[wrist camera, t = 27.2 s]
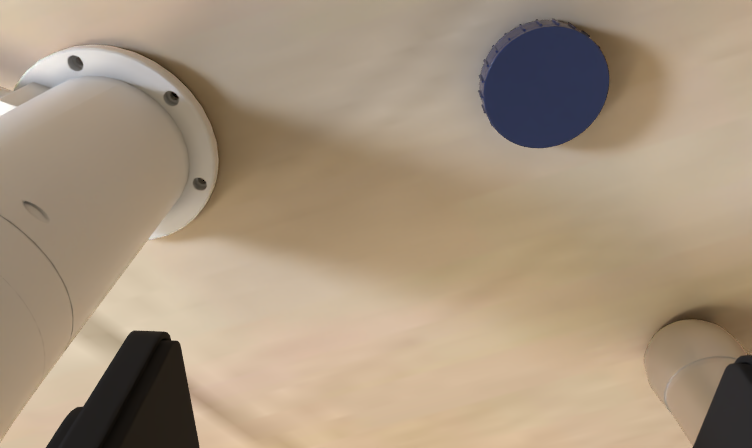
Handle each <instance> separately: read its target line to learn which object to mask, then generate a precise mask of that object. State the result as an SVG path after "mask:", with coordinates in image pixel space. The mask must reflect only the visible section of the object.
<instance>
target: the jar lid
mask: <svg viewBox="0 0 752 448" xmlns="http://www.w3.org/2000/svg"><path fill="white" fill-rule="evenodd" d="M589 37H590V36H589V35H588V34H587V33H585V32H584V31H580V30H578V29H577V28H576V27H575V26H573V25H572V24H571V23H569V22H568V24H567V23H564V22H561V21H556V20H555V19H552V20H538V19H536V21H533V22H529V23H526V24H523V25H521V24H520V25H519V27H517V28H515V29H513V30H511V31H510V32H508V33H507V34H506V33H505V35H504V36H503V37H502V38H501V39H500V40H499V41H498V42H497V43H496V44H495V45H493V46H492V47H493V48H492V49H491V51H490V52H489V54H488V56H487V58H486V60H485V59H484V64H483V67H482V71H481V75H479V78H480V83H479V85H480V90H478V92H479V95H480V97H481V100H482V108H483V110H484V113H486V114H487V116H488V118H489V121H490V123H491V125H492V126H493V127H494V128H495V129H496V130H497V132H498V133H499V134H501V135H502V136H503V137H504V138H506V139H507V140H509V141H511V142H513V143H515V144H517V145H520V146H524V147H529V148H548V147H553V146H557V145H560V144H563V143H565V142H567V141H570V140H572V139H573V138H575V137H577V136H578V135H579V134H581V133H582V132H583V131H585V130H586V129H587V128H588V127H589V126H590V125H591V124H592V123H593V121H594V120H595V119H596V117H597V116H598V114H599V113H600V111H601V109H602V107H603V105H604V103H605V100H606V97H607V94H608V89H609V70H608V65H607V62H606V59H605V57H604V55H603V53H602V51H601V50H600V47H599V46H598V45H597V44H596V43H595V42H594V41H593V40H592V39H590V38H589Z"/></svg>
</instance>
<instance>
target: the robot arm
mask: <svg viewBox="0 0 752 448" xmlns="http://www.w3.org/2000/svg"><path fill="white" fill-rule="evenodd" d="M79 58H80V59H81V60H82V62H83V63H82V62H81V61H80V60H79ZM172 92H174V93H176V94H177V96H178V97H179V98H176V97H174V96H173V93H172ZM218 165H219V158H218V149H217V142H216V139H215V135H214V132H213V129H212V126H211V123H210V122H209V120H208V118H207V116H206V114H205V112H204V110H203V108H202V106H201V105H200V104H199V102H198V101H197V100H196V98H195V97H194V96H193V94H192V93H191V92H190V90H189V89H188V88H187V87H186V86H185V85H184V84H183V83H182V82H181V81H179V80H178V79H177V78H176V77H175V76H174V75H173V74H172V73H170V72H169V71H167V70H166V69H165V68H163V67H162V66H160V65H159V64H157V63H156V62H154V61H152V60H150V59H148V58H146V57H144V56H142V55H140V54H137V53H135V52H132V51H129V50H125V49H122V48H118V47H115V46H106V45H95V44H91V45H81V46H73V47H70V48H67V49H64V50H61V51H58V52H55V53H53V54H51V55H49V56H47V57H45V58H43V59H41V60H39V61H38V62H37V63H35V64H34V65H33V66H32V67H31V68H29V69H28V70H27V71H26V72H25V73H24V74H23V76H22V77H21V79H20V80H19V81H18V83H17V84H16V86H15V88H14V91H11V90H8V89H6V88H3V87H0V442H1V441H2V439H3V438H4V436H5V434H6V433H7V431H8V430H9V428H10V427H11V425H12V424H13V422H14V421H15V419H16V418H17V416H18V415H19V414H20V412H21V411H22V409H23V408H24V406H25V405H26V404H27V402H28V401H29V399H30V398H31V397H32V395H33V394H34V392H35V391H36V390H37V388H38V387H39V385H40V384H41V383H42V381H43V380H44V379H45V377H46V376H47V375H48V373H49V372H50V371H51V369H52V368H53V367H54V365H55V364H56V362H57V361H58V360H59V358H60V357H61V356H62V354H63V353H64V351H65V350H66V349H67V347H68V346H69V345H70V343H71V342H72V341H73V339H74V338H75V337H76V335H77V334H78V333H79V331H80V330H81V329H82V327H83V326H84V325H85V323H86V322H87V321H88V319H89V318H90V317H91V315H92V314H93V313H94V311H95V310H96V309H97V307H98V306H99V305H100V303H101V302H102V301H103V299H104V298H105V297H106V295H107V294H108V293H109V291H110V290H111V289H112V287H113V286H114V284H115V283H116V282H117V280H118V279H119V278H120V276H121V275H122V274H123V272H124V271H125V270H126V268H127V267H128V266H129V264H130V263H131V262H132V260H133V259H134V258H135V256H136V255H137V254H138V252H139V251H140V250H141V248H142V247H143V246H144V244H145V243H146V242H147V240H153V239H157V238H161V237H165V236H168V235H170V234H172V233H174V232H176V231H178V230H180V229H182V228H184V227H185V226H186V225H187V224H189V223H190V222H191V221H192V220H194V219H195V218H196V216H197V215H198V214H199V213H200V211H201V210H202V209H203V208H204V206H205V205H206V203H207V201H208V200H209V198H210V196H211V194H212V192H213V189H214V186H215V183H216V180H217V174H218ZM201 178H202V179H204V180H205V181H203V180H201ZM46 448H199V442H198V436H197V431H196V426H195V420H194V415H193V410H192V404H191V399H190V393H189V388H188V383H187V377H186V372H185V367H184V361H183V356H182V351H181V346H180V343H179V342H178V341H171V338H170V335H169V334H168V333H167V332H157V331H132V332H131V333H130V334H129V335H128V336H127V338H126V340H125V341H124V343H123V344H122V346H121V348H120V349H119V351H118V352H117V354H116V355H115V357H114V359H113V360H112V362H111V363H110V365H109V367H108V368H107V370H106V371H105V373H104V375H103V376H102V378H101V379H100V381H99V383H98V384H97V386H96V387H95V389H94V391H93V392H92V394H91V395H90V397H89V399H88V400H87V402H86V403H85V405H84V406H83V407H77V408H75V409H74V410H72V411H71V412H70V413H69V414H68V415H67V417H66V418H65V419H64V421H63V422H62V424H61V425H60V427H59V428H58V430H57V431H56V433H55V434H54V436H53V438H52V439H51V441H50V442H49V444H48V445H47V447H46ZM693 448H752V355H743V356H740V357H738V358H737V359H736V361H735V363H732V364H729V365H727V367H726V368H725V370H724V373H723V375H722V378H721V380H720V382H719V385H718V387H717V390H716V392H715V395H714V397H713V399H712V402H711V404H710V407H709V409H708V412H707V414H706V416H705V419H704V421H703V424H702V426H701V429H700V431H699V433H698V436H697V438H696V441H695V443H694V446H693Z"/></svg>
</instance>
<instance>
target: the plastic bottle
mask: <svg viewBox="0 0 752 448" xmlns="http://www.w3.org/2000/svg"><path fill="white" fill-rule="evenodd" d="M743 355H747V354H746V352H745V350H744V348H743V347H742V346H741V344H740V343H739V342H738V341H737V340H736V339H735V338H734V337H733V336H731V335H730V334H729V333H728V332H727V331H726V330H725V329H723V328H722V327H721V326H719V325H717V324H714V323H711V322H707V321H703V320H696V319H687V320H681V321H676V322H674V323H671V324H669V325H667V326H665V327H663V328H662V329H661V330H659V331H658V332H657V333H656V334H655V335H654V336H653V337H652V339H651V340H650V342H649V344H648V347H647V349H646V352H645V355H644V366H645V370H646V374H647V378H648V381H649V384H650V386H651V388H652V389H653V391H654V392H655V394H656V395H657V396H658V398H659V399H660V401H661V402H662V403H663V404H664V405H665V407H666V408H667V409H668V410H669V411H670V412H671V414H672V415H673V416H674V418H675V419H676V421H677V422H678V424H679V426H680V427H681V429H682V430H683V432H684V433H685V435H686V436H687V438H688V440H689V441H690V443H691V444H692V446H694V443H695V441H696V438H697V436H698V433H699V431H700V429H701V426H702V424H703V421H704V419H705V416H706V414H707V412H708V409H709V407H710V404H711V402H712V399H713V397H714V395H715V392H716V390H717V387H718V385H719V382H720V380H721V378H722V375H723V373H724V370H725V368H726V367H727V365H729V364H732V363H735V361H736V359H737V358H738V357H740V356H743Z"/></svg>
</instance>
